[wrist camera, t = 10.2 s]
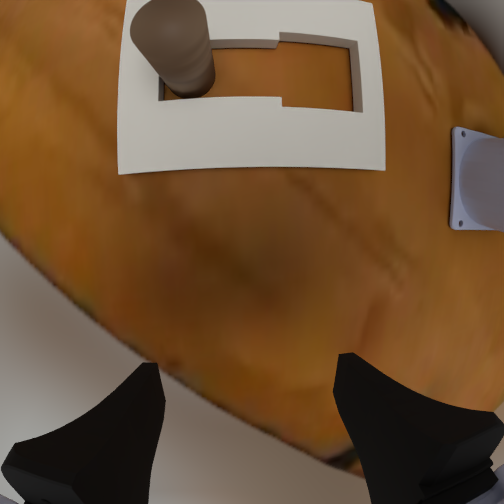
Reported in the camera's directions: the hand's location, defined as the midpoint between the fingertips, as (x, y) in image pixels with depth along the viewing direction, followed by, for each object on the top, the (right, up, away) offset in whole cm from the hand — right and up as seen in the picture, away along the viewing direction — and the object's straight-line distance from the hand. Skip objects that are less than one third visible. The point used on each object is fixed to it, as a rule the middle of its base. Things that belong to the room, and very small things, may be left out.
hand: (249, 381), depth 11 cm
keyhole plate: (0, +16, +5) cm, 17 cm away
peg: (-4, +16, +5) cm, 17 cm away
